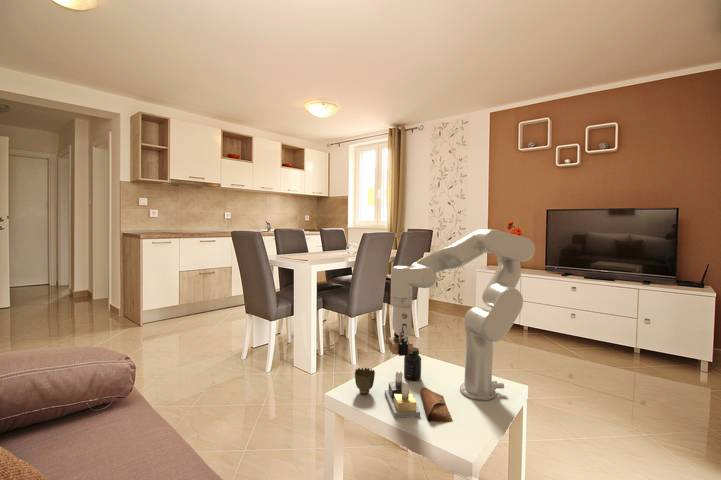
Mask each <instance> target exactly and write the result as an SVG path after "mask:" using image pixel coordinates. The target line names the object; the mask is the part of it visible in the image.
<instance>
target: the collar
mask: <svg viewBox="0 0 721 480" xmlns="http://www.w3.org/2000/svg"><path fill="white" fill-rule="evenodd" d="M402 338H403V337H401V340H402ZM399 344H400V343H399V338H394V337H388V349H389V350H390V352H391V354H392V355H398V345H399ZM413 347H414V343H413V342H412V340H410V338H409V337H408V354H413Z"/></svg>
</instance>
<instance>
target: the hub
mask: <svg viewBox="0 0 721 480" xmlns="http://www.w3.org/2000/svg"><path fill="white" fill-rule="evenodd" d="M403 382H404V383H403V384H402V394H394V404H395V407H396V409H397V411H398V412H416V405H417V401H416V399H415V397H414V395H413V393H410V385H409V383H408V382H405V381H403ZM409 393H410V394H409Z"/></svg>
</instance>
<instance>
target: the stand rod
mask: <svg viewBox="0 0 721 480" xmlns="http://www.w3.org/2000/svg"><path fill="white" fill-rule="evenodd" d="M404 382H405V381H403V372H402V371H400V370H398V371H396V372H395V379H394V382H392V381H391V382H388V389H387V390H388V391H389V393H390V395H391V398H392V399H394V394H402V384H403V383H404Z"/></svg>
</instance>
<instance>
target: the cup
mask: <svg viewBox="0 0 721 480" xmlns="http://www.w3.org/2000/svg"><path fill="white" fill-rule="evenodd" d="M375 375H376V371H375V370H374V369H372V368H369V367H368V368H367V367H365V368H364V367H362V368H359V367H358V368H356V369H355V370H354V379H355V380H354V381H355V385H356V388H357V389H358V390H359V391H358V392H359V393H360V395H368V394H369V393H370V390H371V389H372V388H373V386H374V383H375V382H374V381H375V377H376V376H375Z"/></svg>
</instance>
